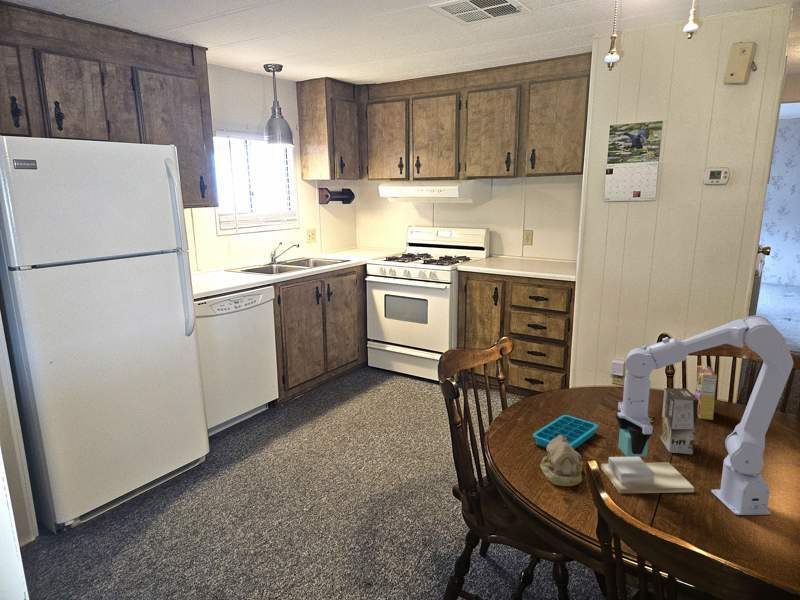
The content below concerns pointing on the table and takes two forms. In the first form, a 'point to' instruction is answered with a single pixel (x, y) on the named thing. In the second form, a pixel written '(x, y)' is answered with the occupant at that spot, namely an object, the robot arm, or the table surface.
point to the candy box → (705, 392)
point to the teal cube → (629, 444)
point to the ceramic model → (562, 463)
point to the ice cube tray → (566, 431)
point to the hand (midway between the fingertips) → (632, 447)
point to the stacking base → (660, 480)
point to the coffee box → (679, 420)
